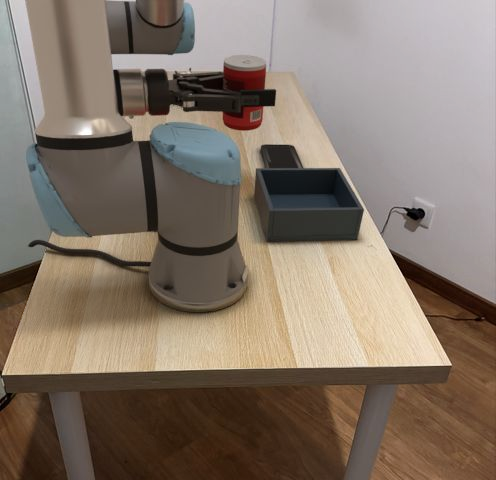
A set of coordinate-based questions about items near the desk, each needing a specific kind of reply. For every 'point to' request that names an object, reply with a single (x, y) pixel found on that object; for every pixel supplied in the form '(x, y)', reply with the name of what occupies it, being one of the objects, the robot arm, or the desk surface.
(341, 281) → the desk surface
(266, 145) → the phone
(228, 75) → the canned food
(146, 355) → the desk surface
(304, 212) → the bin
